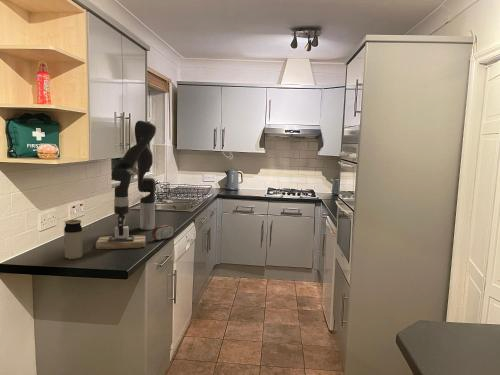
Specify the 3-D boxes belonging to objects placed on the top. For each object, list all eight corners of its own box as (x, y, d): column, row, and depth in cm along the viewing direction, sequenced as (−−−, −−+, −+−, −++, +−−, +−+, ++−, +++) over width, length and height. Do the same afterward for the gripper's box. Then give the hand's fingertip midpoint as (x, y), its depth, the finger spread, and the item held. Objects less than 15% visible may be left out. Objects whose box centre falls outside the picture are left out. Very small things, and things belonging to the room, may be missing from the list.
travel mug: (85, 254, 197) (84, 219, 195) (78, 259, 190) (77, 223, 187) (69, 254, 197) (68, 219, 195) (62, 259, 189) (61, 222, 187)
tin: (172, 236, 239) (172, 222, 238) (175, 237, 237) (175, 223, 236) (151, 240, 228) (151, 226, 227) (155, 241, 226) (155, 227, 225)
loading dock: (99, 241, 222) (99, 234, 221) (145, 240, 228) (145, 233, 227) (95, 249, 207) (95, 241, 207) (144, 247, 213) (144, 240, 213)
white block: (115, 238, 219) (115, 226, 218) (128, 237, 220) (128, 226, 220) (114, 240, 214) (114, 228, 213) (128, 240, 216) (128, 228, 215)
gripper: (115, 202, 221) (115, 230, 223) (112, 207, 207) (113, 237, 209) (129, 202, 222) (129, 230, 224) (127, 207, 209) (127, 236, 211)
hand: (121, 233), depth 217 cm, fingers open, 8 cm apart
